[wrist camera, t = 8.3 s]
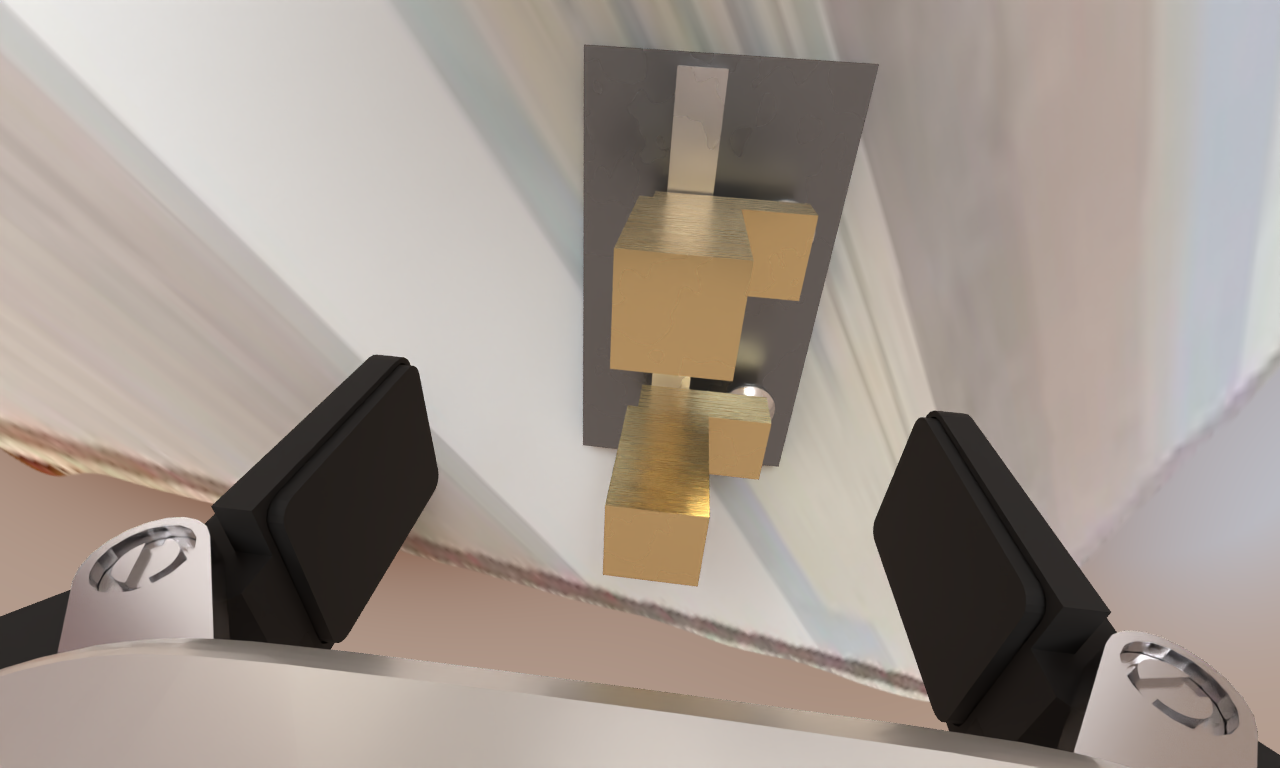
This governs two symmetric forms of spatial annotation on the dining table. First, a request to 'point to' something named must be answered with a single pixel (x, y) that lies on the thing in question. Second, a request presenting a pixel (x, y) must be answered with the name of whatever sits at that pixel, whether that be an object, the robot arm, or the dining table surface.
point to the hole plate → (772, 328)
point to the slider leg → (701, 278)
